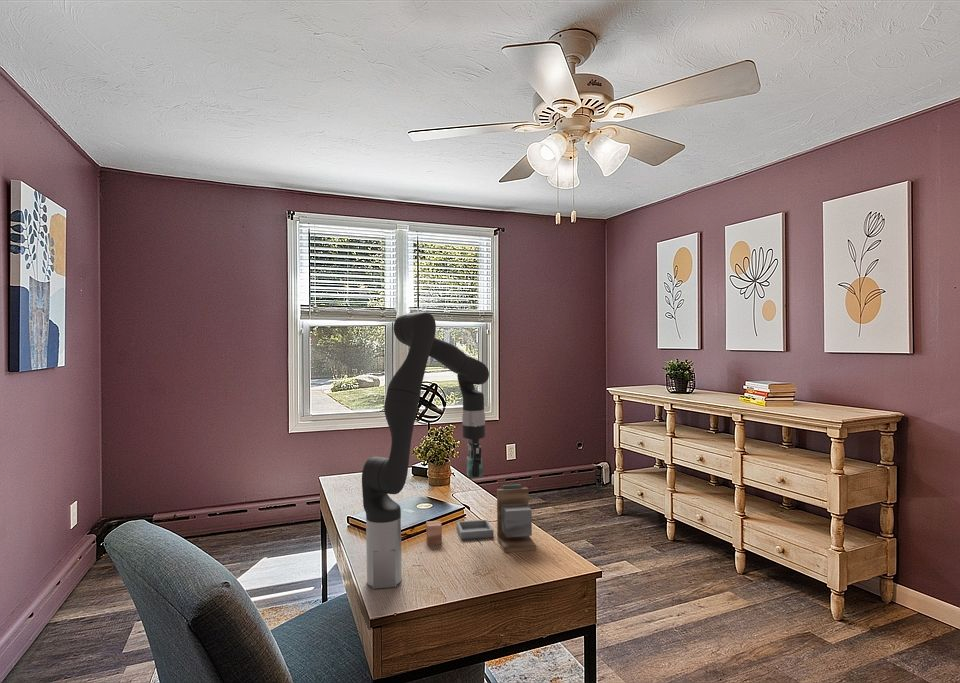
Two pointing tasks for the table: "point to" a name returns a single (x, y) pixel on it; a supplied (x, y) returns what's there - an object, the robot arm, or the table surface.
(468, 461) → the teal block
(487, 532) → the tray
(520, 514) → the mounted unit
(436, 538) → the terracotta block
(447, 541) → the table surface
